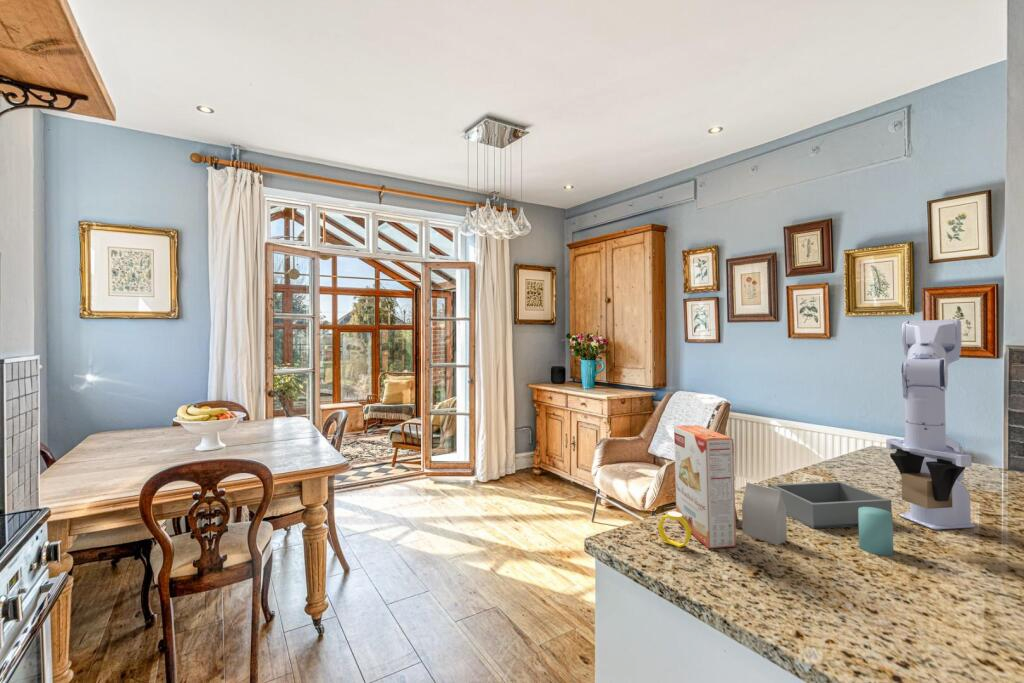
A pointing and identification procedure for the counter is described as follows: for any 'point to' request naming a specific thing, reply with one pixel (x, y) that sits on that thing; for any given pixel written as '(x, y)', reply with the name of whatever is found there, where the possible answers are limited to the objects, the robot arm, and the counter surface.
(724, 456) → the cracker box
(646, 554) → the counter surface
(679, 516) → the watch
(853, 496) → the tote
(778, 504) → the tea bag
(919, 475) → the walnut cube
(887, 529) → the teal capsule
